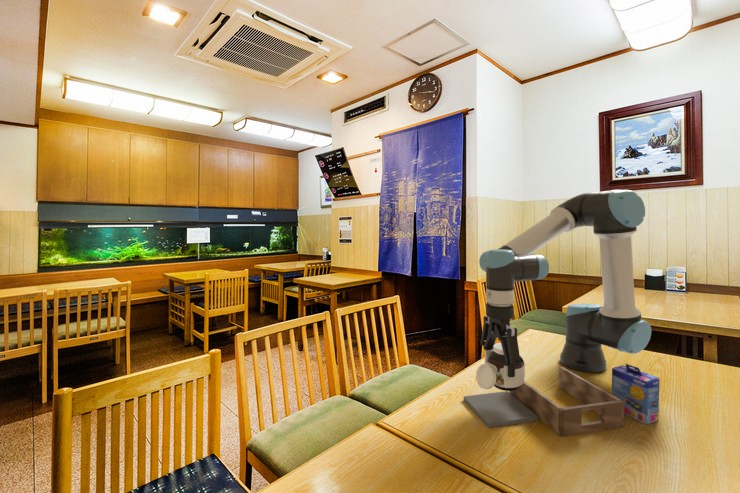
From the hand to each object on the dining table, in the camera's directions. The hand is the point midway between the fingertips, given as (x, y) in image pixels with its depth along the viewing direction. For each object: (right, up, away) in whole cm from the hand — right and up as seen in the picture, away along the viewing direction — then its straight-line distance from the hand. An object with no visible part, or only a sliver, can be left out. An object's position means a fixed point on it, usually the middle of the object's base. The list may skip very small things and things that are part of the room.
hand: (498, 378), depth 103 cm
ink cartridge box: (+37, -9, -3) cm, 39 cm away
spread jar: (0, -2, 0) cm, 2 cm away
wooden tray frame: (+19, -9, +1) cm, 21 cm away
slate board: (0, -9, +1) cm, 9 cm away
